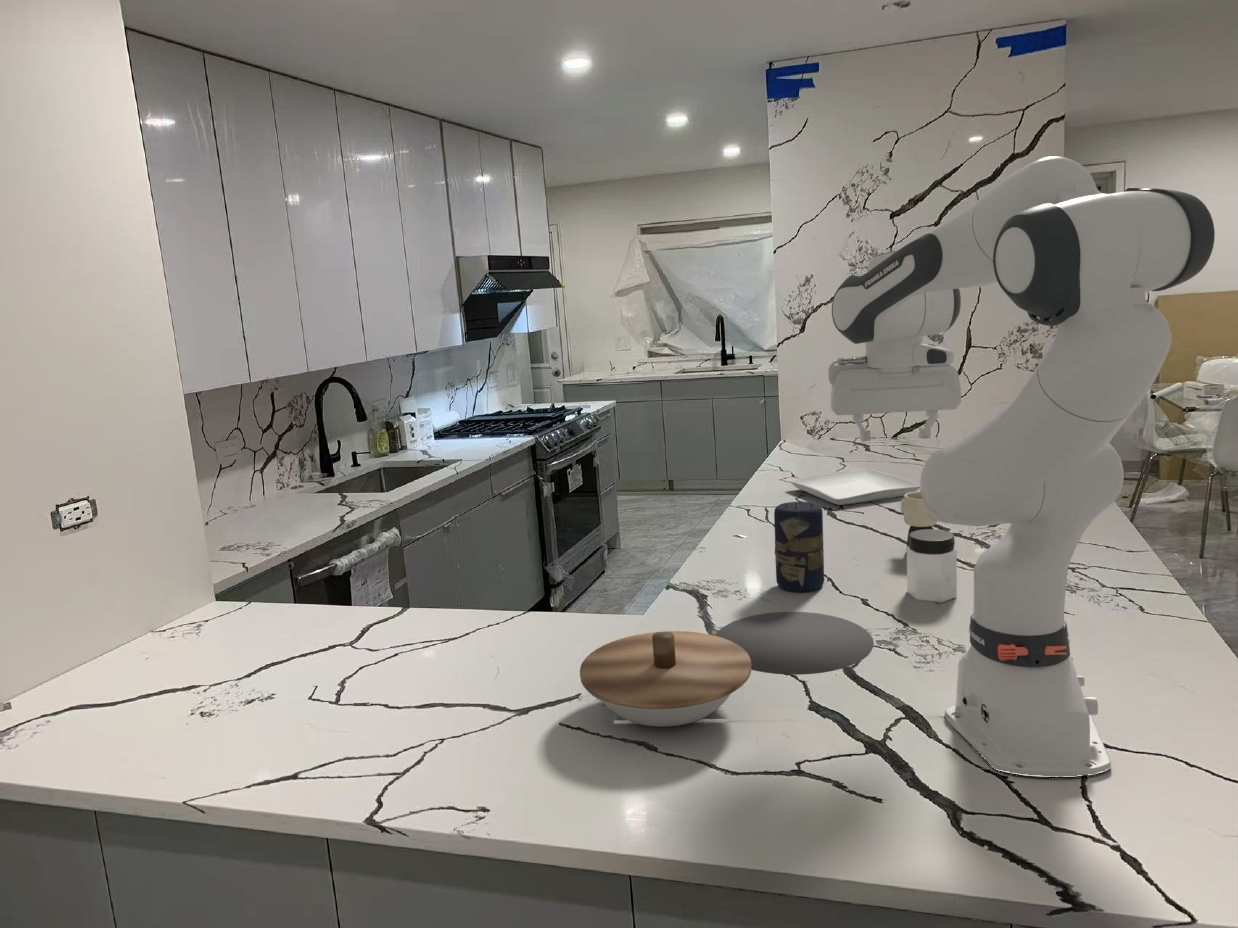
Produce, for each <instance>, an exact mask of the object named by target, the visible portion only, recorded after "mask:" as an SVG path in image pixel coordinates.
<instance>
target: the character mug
mask: <svg viewBox="0 0 1238 928" xmlns="http://www.w3.org/2000/svg"><path fill="white" fill-rule="evenodd" d="M900 511H901V514H903V521H904V524H906V525H908V526H909V528H908V534H907V541H906V551H907V547H908V546H909V534H910V533H911V532H913V531H917V530H924V529H934V527H933V526H935V525H937V523H939V522H940V521H939V520H938V519H936V518H935V517H934V516H933V515H932V514H931V512H930V511H929V510H928V508H927V507H926V505H925V503H924V501H923V499H922V495H921V491H915V492H911V493H907V494H905V495H903V499H901V501H900Z"/></svg>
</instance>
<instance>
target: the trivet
mask: <svg viewBox="0 0 1238 928" xmlns="http://www.w3.org/2000/svg"><path fill="white" fill-rule="evenodd" d="M714 636H718V637H721V638H724V639H727V640H729V641H732V642H733V643H735V644H737V645H739V646H740V647H742V648H743V649H744V650H745V651H746V652H747V653H748V655H749V656H750V659H751V671H752V670H753V671H755V672H762V673H767V674H776V675H777V674H778V675H814V674H823V673H827V672H832V671H838V670H842V669H844V668H847V667H850V666H851V667H852V666H853V665H855V664H857V663H859V662H861V661H863V660H864V659H866V658H867V657H868V656H869V655H870V654H871V652H872V651H873V649H874V639H873V637H872V635H871V633H869V632H868V631H867V630H866V629H865V628H863V627H862V626H860V625H859V624H857V623H855V622H854V621H853V622H852V621H850V620H848V619H845V618H843V617H838V616H834V615H830V614H826V613H825V614H824V613H817V612H808V611H807V612H806V611H775V612H767V613H760V614H754V615H750V616H746V617H742V618H740V619H737V620H734V621H731V622H730V623H727V624H726V625H724V626H722V627H721V628H720V629H719V630H718V631H717V632H716V633H715V634H714Z"/></svg>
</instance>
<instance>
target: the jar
mask: <svg viewBox="0 0 1238 928" xmlns="http://www.w3.org/2000/svg"><path fill="white" fill-rule="evenodd" d="M955 543H956V542H955V535H954V534H953V532H950V531H947V530H943V529H935V528H933V529H924V530H917V531H913V532H911V533H910V534H909V546H908V547H907V546H906V548H907V550H906V591H907V593H908V594H909V595H910V596H912V598H914V600H919V601H931V602H933V603H939V604H942V603H944V602H947V601H950V600H952V599H955V598H957V596H958V595H957V594H958V593H957V592H958V591H957V583H958V581H957V578H958V576H957V575H958V574H957V571H958V569H957V567H958V566H957V565H958V564H957V563H958V562H957V561H958V559H957V557H958V555H957V553H958V552H957V551H958V550H957V549H956V548H955Z"/></svg>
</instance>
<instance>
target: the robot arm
mask: <svg viewBox="0 0 1238 928" xmlns="http://www.w3.org/2000/svg"><path fill="white" fill-rule="evenodd" d="M1215 231H1216V230H1215V226H1214V220H1213V217H1212V215H1211V213H1210V211H1209V209H1208V207H1207V205H1206V204H1205V203H1204V202H1203V201H1202V200H1200V199H1199V198H1198V197H1197V196H1195V195H1193V194H1190V193H1187V192H1184V191H1180V190H1173V189H1166V188H1155V187H1154V188H1153V187H1149V188H1147V187H1146V188H1144V187H1131V186H1130V187H1128V188H1126V189H1124V191H1119V192H1113V193H1104V192H1103V193H1102V191H1100V190H1099V189H1098V188H1097V185H1096V182H1095V180H1094V178H1093V176H1092V174H1091V173H1090V171H1088V170H1087V168H1085V167H1084V166H1083V165H1082V164H1080V163H1079V162H1078V161H1076V160H1074V159H1071V158H1069V157H1064V156H1054V155H1053V156H1045V157H1043V158H1040V159H1039V158H1038V159H1037V160H1034V161H1033V162H1031V163H1029V164H1027V165H1024V166H1022V167H1020V168H1019V169H1017V170H1016V171H1014V172H1013V173H1011V174H1010V175H1008V176H1006V177H1005V178H1003V179H1002V180H1000V181H999V182H998V183H997V184H995V185H994V186H992V188H991V189H989V190H987V192H986V193H985V194H984V195H983V196H981V197H980V198H979V199H978V200H976V201H975V202H974V203H973V204H971V205H970V206H968V207H967V208H966V209H964V210H963V211H961V212H960V213H958V214H956V215H955V216H954V217H952V218H950V220H947V221H946V222H944V223H943V224H941V225H939V226H938V227H935V228H934V229H932V230H930V231H928V232H927V233H926V234H922V236H919V237H918V238H916V239H914V240H912V241H911V242H909V243H907V244H905V245H904V246H903V247H901V248H899V249H898V250H890V251H887V252H882V253H879V254H876V255H874V256H872V258H870V259H869V261H868V264H867V268H866V273H864V274H852V275H849V276H847V278H846V279H844V281H843V282H842V283H841V284H840V285H839V287H838V288H837V289H836V291H835V293H834V294H833V298H832V303H831V316H832V317H831V318H832V321H833V325H834V327H835V328H836V330H837V331H838V332H839V333H840V334H841V335H842V336H843V337H844V338H846V339H847V340H848V341H850V342H851V343H852V344H854V345H858V344H863V343H865V346H864V347H865V355H864V356H856V357H855V356H854V357H849V358H846V357H840V358H837V360H836V361H833V362H832V363H831V364H830V365H829V367H828V382H829V383H830V385H831V393H830V410H831V411H832V413H834V414H835V415H836V416H851V415H852V420H853V422H854V424H855V425H856V427H857V429H859V439H860V442H871V441H872V440H871V439H872V437H871V434H872V432H871V429H870V428H864V426H863V424H862V422H863V421H864V415H871V414H874V415H875V414H888V413H889V414H891V413H892V414H893V413H910V412H913V413H914V412H925V416H927V417H928V418H927V420H926V421H925V423H924V425H922V426H920V425H919V426H918V431H919V432H918V437H919V438H920V439H931V428H932V427H933V425H934V423H935V422H936V420H937V419H938V417H939V416H938V415H939V413H938V412H939V411H946V410H949V411H950V410H956V409H957V408H958V407H959V406H960V405H961V403H962V391H961V382H960V376H959V372H958V370H957V369H956V368H955V367H954V366H953V365H951V364H953V362H954V359H955V357H954V356H955V354H954V352H953V351H951V349H947V348H945V347H940V346H936V345H934V344H932V343H925V342H924V337H925V336H926V337H927V336H935V335H939V334H942V333H946V332H947V331H949V330H950V329H951V328H952V326H954V324H955V323H956V321H957V320H958V317H959V316H960V313H961V312H960V311H961V303H962V301H961V300H962V299H961V291H960V289H970V288H971V289H972V288H973V289H974V288H986V287H993V286H999V287H1000V288H1001V290H1002V291H1003V292H1004V293H1005V295H1006V296H1007V297H1008V298H1009V299H1010V301H1012V303H1014V305H1016V306H1017V307H1018V308H1019V309H1022V310H1023V311H1025V312H1026V313H1027V315H1028V318H1030V319H1031V321H1033V322H1034V323H1037V324H1038V325H1043V326H1047V327H1048V326H1049V327H1052V326H1053V327H1054V326H1057V327H1056V328H1057V330H1056V334H1055V337H1054V339H1053V341H1052V342H1051V344H1050V346H1049V348H1048V349H1047V351H1046V352H1045V353H1044V355H1043V356H1042V358H1041V360H1040V361H1039V362H1038V364H1037V365H1036V367H1035V369H1034V371H1033V372H1032V373H1031V375H1030V377H1029V378H1028V380H1027V381H1026V383H1025V384H1024V386H1023V387H1022V388H1021V390H1020V392H1019V394H1018V395H1017V396H1016V397H1015V398H1014V399H1013V400H1012V401H1011V402H1010V403H1009V404H1008V405H1007V407H1005V408H1004V409H1003V410H1001V412H999V413H998V414H996V415H995V416H994V417H992V418H991V419H990V420H989V421H987V422H985V424H983V425H981V426H980V427H979V428H978V429H976V430H975V431H973V432H972V433H970V434H969V435H967V436H966V437H964V438H962V439H960V440H958V441H956V442H955V443H952V444H949V445H948V446H946V447H943V448H940V449H937V450H935V451H934V452H932V453H931V454H930V455H929V457H928V458H927V460H926V461H925V463H924V464H923V467H922V470H921V472H920V478H919V484H920V488H919V492H921V495H922V499H923V501H924V503H925V505H926V507H927V508H928V510H929V511H930V512H931V514H932V515H933V516H934V517H935V518H936V519H938V520H939V521H940V522H941V523H942V524H943V523H944V524H952V525H959V526H970V527H971V526H972V527H986V526H996V525H1004V524H1005V525H1006V524H1010V525H1009V526H1008V528H1007V530H1006V532H1005V533H1004V534H1003V535H1002V537H1001V538H1000V539H999V540H998V541H997V542H996V543H995V544H993V545H992V546H990V547H988V548H987V549H986V550H985V551H983V552H982V553H981V554H980V555H979V557H978V559H977V561H976V562H975V565H974V568H973V613H972V614H971V615H970V619H969V621H970V622H969V625H968V633H969V643H970V647H969V649H968V651H967V652H966V653H965V654H964V655H963V656H962V657H961V659H959V661H958V665H957V666H958V669H957V681H956V695H955V696H956V699H955V704H954V705H951V706H949V707H947V708H946V709H945V711H944V719H945V720H946V722H948V723H949V725H951V726H952V727H953V728H954V730H955V731H956V732H957V731H958V732H959V733H960V734H961V735H962V736H963V737H964V738H965V739H966V740H967V741H968V742H969V743H970V744H971V745H972V746H973V747H974V748H975V749H976V750H977V751H978V752H977V751H976V750H975V749H974V748H973V747H972V746H971V745H970V744H969V743H968V742H967V741H966V740H965V739H964V738H963V737H962V736H961V735H960V734H959V733H958V732H957V733H958V734H959V735H960V736H961V737H962V738H963V739H964V740H965V741H966V742H967V743H968V744H969V745H970V746H971V747H972V748H973V749H974V750H975V751H976V752H977V754H978V753H980V754H981V755H982V756H983V758H985V760H986V761H987V762H988V763H990V765H991V766H993V767H994V768H995V769H998V770H1003V771H1009V772H1011V773H1013V772H1014V773H1018V774H1019V773H1020V774H1028V775H1041V776H1042V775H1043V776H1051V777H1052V776H1054V777H1055V776H1059V777H1061V776H1062V777H1063V776H1077V775H1082V774H1083V775H1085V774H1086V775H1087V774H1095V773H1097V772H1100V771H1105V770H1106V769H1109V768H1110V767H1111V768H1112V763H1111V759H1110V757H1109V754H1108V751H1107V749H1106V747H1105V745H1104V743H1103V740H1102V738H1101V735H1100V733H1099V731H1098V728H1097V726H1096V723H1095V720H1094V719H1093V717H1092V716H1097V715H1098V714H1099V705H1098V703H1099V702H1098V700H1097V697H1095V696H1085V695H1084V694H1083V690H1082V687H1084V686H1085V677H1084V675H1079V674H1077V672H1076V669H1075V666H1074V661H1073V660H1074V658H1073V657H1072V656H1071V649H1070V643H1071V642H1070V634H1069V631H1068V625H1067V622H1066V621H1065V602H1066V588H1067V577H1068V571H1069V567H1070V564H1071V560H1072V558H1073V554H1074V552H1075V550H1076V548H1077V546H1078V544H1079V541H1080V540H1081V539H1082V536H1083V535H1084V533H1085V532H1086V530H1087V529H1088V528H1089V526H1090V525H1091V524H1092V523H1093V521H1094V520H1095V519H1096V518H1097V517H1098V515H1100V514H1101V513H1102V512H1103V511H1105V510H1106V509H1107V508H1108V507H1110V506H1111V505H1112V504H1113V503H1115V501H1116V500H1117V498H1118V497H1119V495H1120V493H1121V490H1122V487H1123V484H1124V478H1125V477H1124V475H1125V474H1124V466H1123V462H1122V459H1121V457H1120V455H1119V454H1118V451H1116V449H1115V448H1114V447H1113V445H1111V443H1110V441H1111V440H1112V439H1113V438H1114V437H1115V435H1116V434H1117V432H1118V431H1119V430H1120V429H1121V428H1122V426H1123V425H1124V424H1125V423H1126V422H1127V420H1128V418H1130V417H1131V415H1132V414H1133V413H1134V411H1135V410H1136V408H1138V406H1139V405H1140V404H1141V402H1142V400H1143V399H1144V398H1145V397H1146V395H1147V394H1148V392H1149V391H1150V389H1151V387H1152V386H1153V384H1154V382H1155V381H1156V379H1157V377H1158V375H1159V373H1160V371H1161V369H1162V367H1163V365H1164V363H1165V361H1166V358H1167V356H1168V354H1169V352H1170V348H1171V344H1172V339H1173V338H1172V337H1173V336H1172V330H1171V327H1170V324H1169V322H1168V320H1167V318H1166V316H1164V314H1163V313H1162V312H1161V311H1160V310H1159V309H1158V308H1157V307H1156V306H1154V305H1153V304H1151V303H1149V302H1148V301H1147V299H1146V294H1145V293H1148V292H1161V291H1165V290H1168V289H1171V288H1173V287H1176V286H1179V285H1182V283H1185V282H1187V281H1188V280H1191V279H1192V278H1194V277H1195V276H1197V275H1198V274H1199V273H1201V271H1202V270H1203V269H1204V267H1206V265H1207V264H1208V261H1210V260H1209V259H1210V258H1211V255H1212V252H1213V249H1214V247H1215V246H1214V244H1215V236H1216V234H1215V233H1216V232H1215ZM983 758H982V759H983ZM985 760H984V761H985ZM986 761H985V762H986ZM987 762H986V763H987ZM988 763H987V764H988ZM990 765H989V766H990ZM991 766H990V767H991ZM995 769H994V770H995Z"/></svg>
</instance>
